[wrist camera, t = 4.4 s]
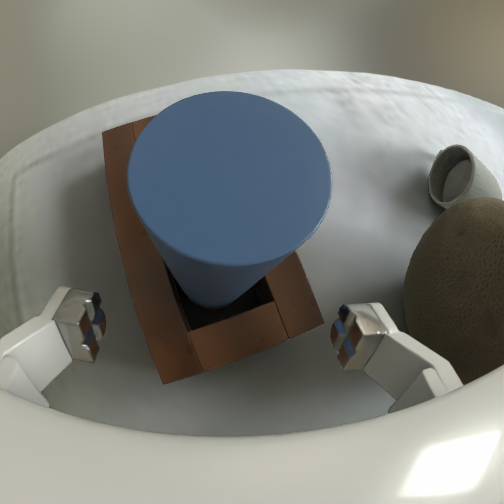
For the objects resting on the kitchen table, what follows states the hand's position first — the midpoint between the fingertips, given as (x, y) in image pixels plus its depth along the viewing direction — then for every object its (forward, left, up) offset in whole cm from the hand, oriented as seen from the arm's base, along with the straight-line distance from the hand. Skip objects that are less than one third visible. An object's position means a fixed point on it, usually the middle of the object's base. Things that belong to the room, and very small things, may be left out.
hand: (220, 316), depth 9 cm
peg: (+1, +3, -11) cm, 11 cm away
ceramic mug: (+31, +4, -11) cm, 33 cm away
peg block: (+1, +7, -11) cm, 13 cm away
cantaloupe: (+18, -6, -11) cm, 22 cm away
